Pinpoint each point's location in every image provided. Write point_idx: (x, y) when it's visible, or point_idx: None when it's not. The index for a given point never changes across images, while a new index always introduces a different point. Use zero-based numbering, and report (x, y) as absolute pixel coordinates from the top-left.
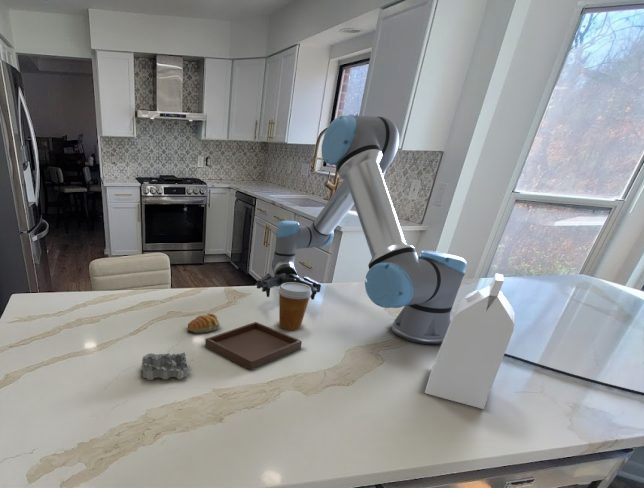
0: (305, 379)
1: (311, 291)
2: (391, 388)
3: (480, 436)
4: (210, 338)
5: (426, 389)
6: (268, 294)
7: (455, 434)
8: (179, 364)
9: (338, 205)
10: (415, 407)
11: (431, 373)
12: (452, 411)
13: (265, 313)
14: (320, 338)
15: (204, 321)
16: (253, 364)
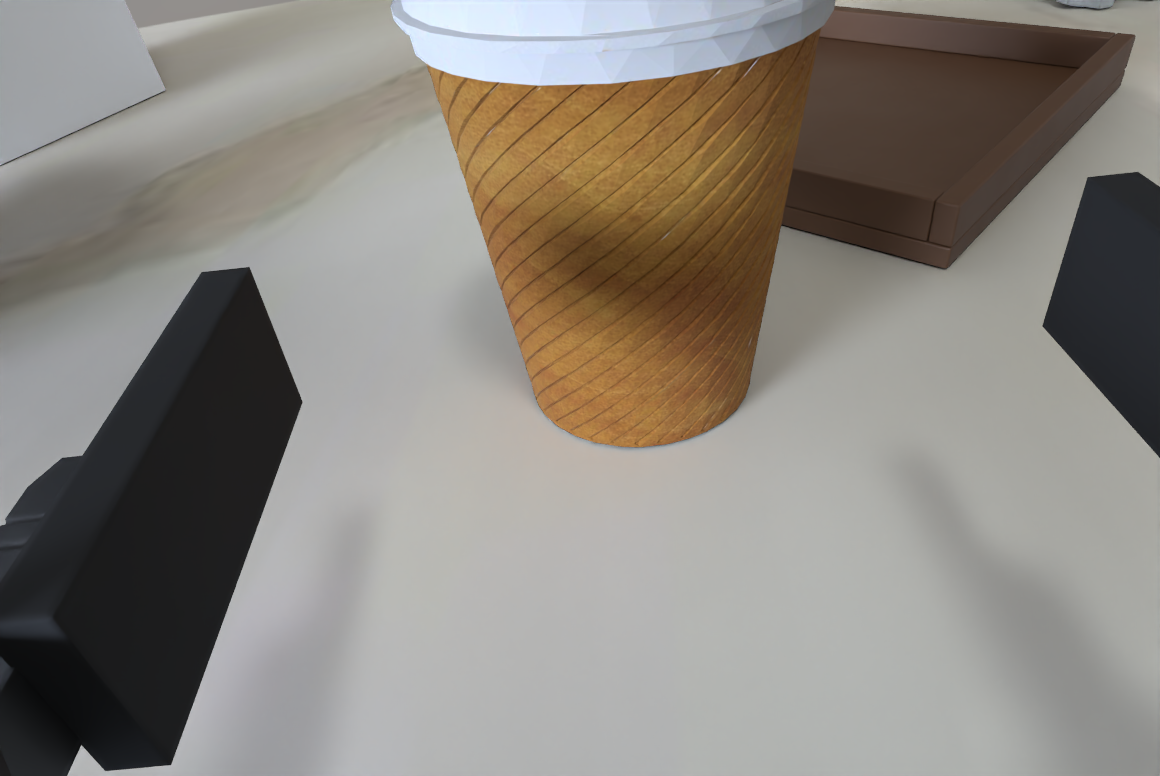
0: None
1: (392, 4)
2: (268, 85)
3: (172, 34)
4: (1110, 39)
5: (157, 74)
6: (1074, 284)
7: (230, 28)
8: (1100, 4)
9: None
10: (256, 54)
11: (88, 58)
12: (155, 64)
13: (1028, 627)
14: (407, 273)
15: None
16: None
